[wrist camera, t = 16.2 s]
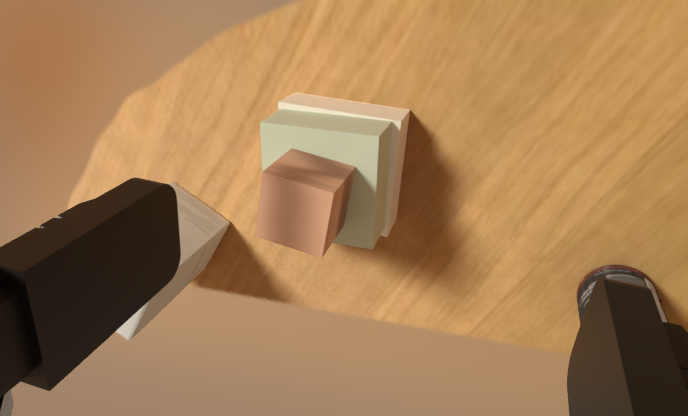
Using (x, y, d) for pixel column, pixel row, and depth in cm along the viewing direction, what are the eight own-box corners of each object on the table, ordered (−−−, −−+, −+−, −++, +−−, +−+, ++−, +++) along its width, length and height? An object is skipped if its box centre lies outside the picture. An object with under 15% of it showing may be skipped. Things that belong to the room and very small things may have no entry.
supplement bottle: (635, 332, 46) (663, 435, 36) (564, 308, 47) (573, 401, 37) (669, 276, 43) (710, 371, 33) (593, 251, 44) (611, 336, 34)
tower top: (392, 121, 41) (379, 136, 37) (384, 227, 45) (372, 249, 41) (281, 108, 43) (260, 121, 40) (283, 210, 47) (264, 230, 44)
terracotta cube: (355, 166, 39) (333, 193, 35) (343, 226, 41) (321, 257, 37) (291, 148, 40) (262, 171, 36) (283, 207, 42) (255, 236, 38)
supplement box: (172, 178, 54) (81, 235, 43) (233, 222, 54) (156, 290, 43) (148, 229, 58) (58, 294, 47) (205, 270, 57) (128, 344, 47)
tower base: (411, 108, 44) (401, 121, 41) (397, 217, 49) (387, 237, 45) (297, 90, 47) (278, 101, 43) (293, 196, 51) (276, 213, 47)
